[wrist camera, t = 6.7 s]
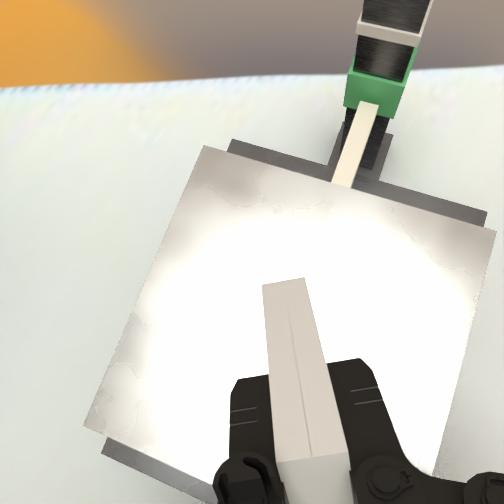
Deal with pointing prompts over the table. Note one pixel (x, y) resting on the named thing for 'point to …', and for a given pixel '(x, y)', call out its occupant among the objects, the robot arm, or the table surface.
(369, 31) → the stand
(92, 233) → the table surface
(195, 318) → the pan
